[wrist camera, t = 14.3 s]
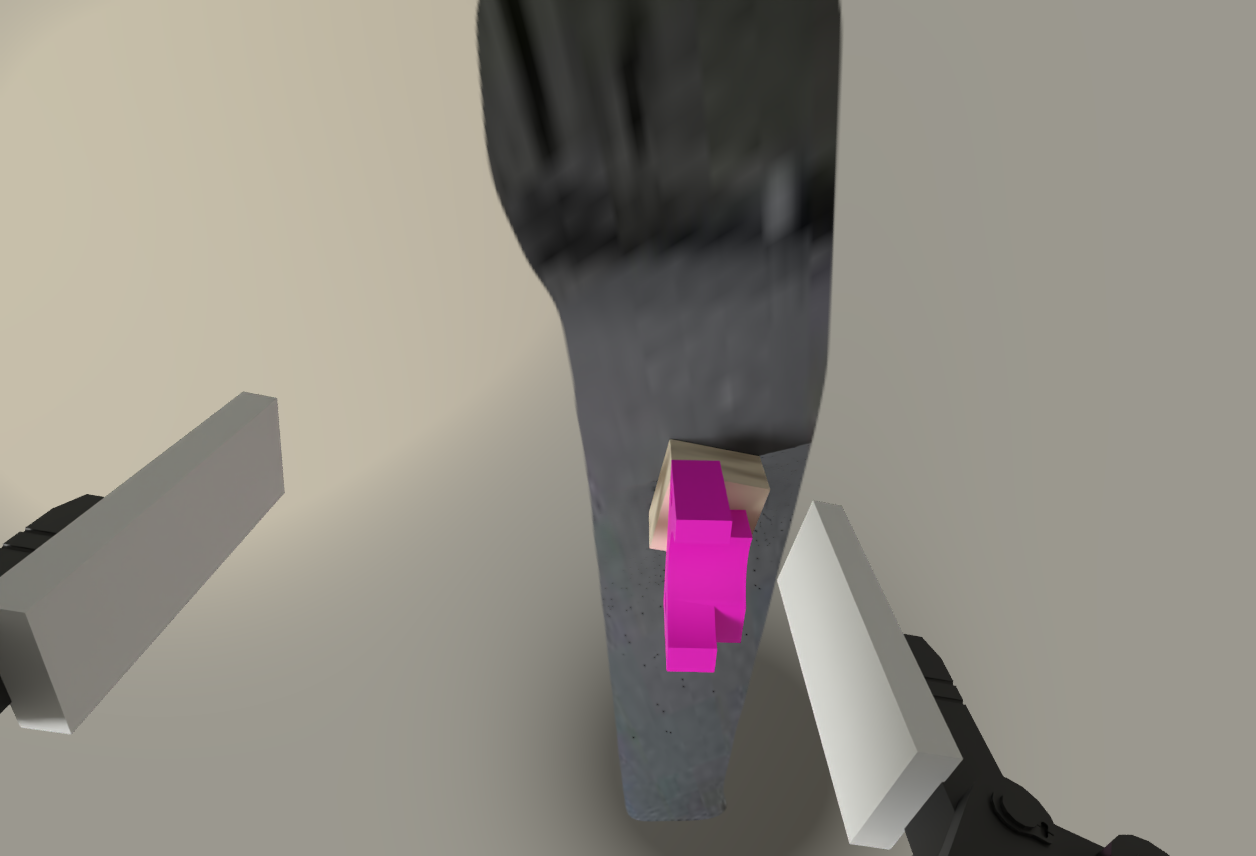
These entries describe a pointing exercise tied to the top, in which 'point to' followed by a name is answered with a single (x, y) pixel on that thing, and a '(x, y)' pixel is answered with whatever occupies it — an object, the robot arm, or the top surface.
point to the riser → (740, 480)
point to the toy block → (703, 567)
